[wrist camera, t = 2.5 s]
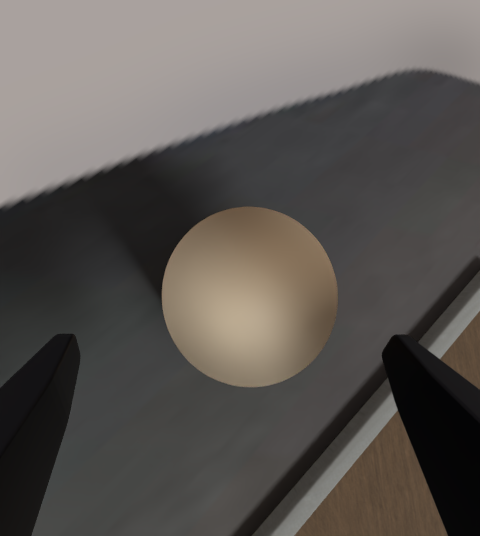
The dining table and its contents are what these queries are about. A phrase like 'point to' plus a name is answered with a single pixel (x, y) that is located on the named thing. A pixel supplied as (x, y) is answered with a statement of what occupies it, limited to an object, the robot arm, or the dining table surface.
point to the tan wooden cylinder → (249, 297)
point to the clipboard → (380, 454)
